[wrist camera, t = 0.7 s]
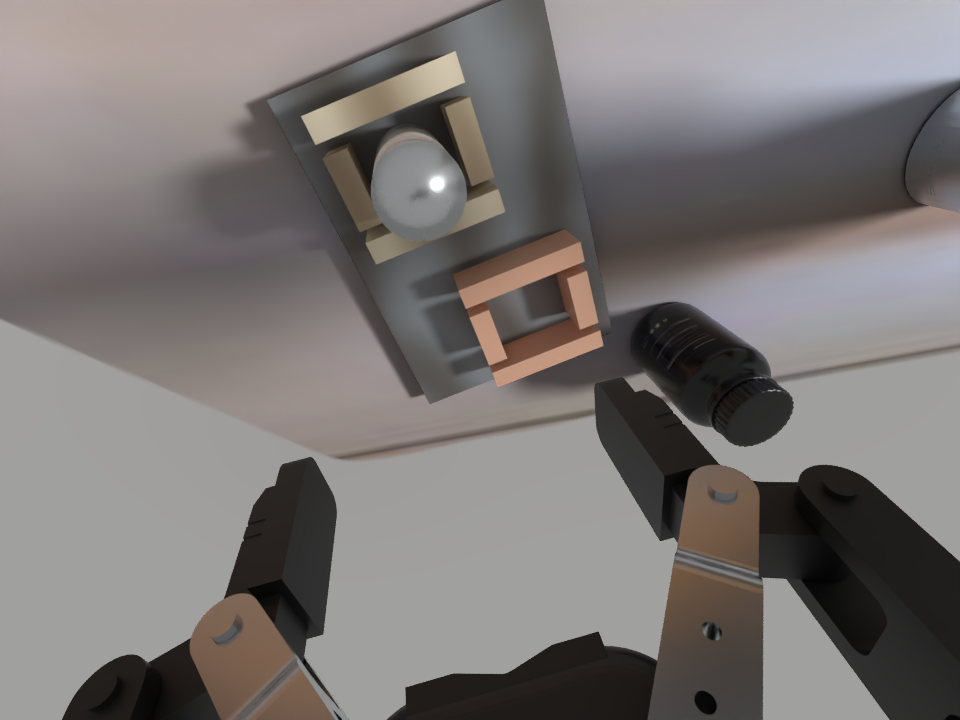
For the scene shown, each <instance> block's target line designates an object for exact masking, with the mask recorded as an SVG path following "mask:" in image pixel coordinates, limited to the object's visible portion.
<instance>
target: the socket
mask: <svg viewBox="0 0 960 720" xmlns="http://www.w3.org/2000/svg"><path fill="white" fill-rule="evenodd" d="M584 261H585V260H584V256H583V251H582V247H581V242H580V241H579V240H577V239H576V238H575V237H574V236H573V235H571V234H570V233H569V232H568V231H566V230H565V229H564V230H561V231H559V232H556V233H554V234H551V235H549V236H547V237H544V238H542V239H539V240H537V241H534V242H532V243H529V244H527V245H524V246H522V247H519V248H517V249H514V250H512V251H509V252H507V253H504V254H502V255H499V256H497V257H495V258H492V259H490V260H487V261H485V262H482V263H480V264H477V265H475V266H472V267H470V268H467V269H465V270H462V271H460V272H457V273H455V274H453V276H454V279H455V282H456V285H457V288H458V291H459V293H460V296H461V298H462V301H463V303H464V306H465V308H466V309H467V312H468V315H469V318H470V320H471V323H472V325H473V327H474V330H475V332H476V335H477V337H478V340H479V342H480V344H481V347H482V349H483V352H484V354H485V357H486V359H487V361H488V364H489V366H490V368H491V371H492V374H493V376H494V379H495V381H496V383H497V386H498V387H500V386H503V385H505V384H508V383H510V382H513V381H515V380H518V379H520V378H523V377H525V376H528V375H531V374H533V373H536V372H538V371H541V370H543V369H546V368H548V367H551V366H553V365H556V364H559V363H561V362H564V361H566V360H569V359H571V358H574V357H576V356H579V355H581V354H584V353H587V352H589V351H592V350H594V349H597V348H599V347H602V346H604V345H603V341H602V336H601V332H600V330H599V329H598V327H597V326H596V325H595V324H596V323H598V318H597V314H596V309H595V305H594V301H593V296H592V292H591V287H590V283H589V278H588V274H587V270H585V269H584V268H583V267H582V266H581V265H580V264H579V263H582V262H584ZM555 273H556V276H557V280H558V284H559V287H560V291H561V295H562V298H563V302H564V306H565V310H566V312H567V314H568V315H569V316H570V319H568V320H565V321H563V322H560V323H558V324H555V325H553V326H550V327H548V328H545V329H543V330H540V331H538V332H535V333H533V334H530V335H528V336H525V337H523V338H520V339H517V340H515V341H512V342H510V343H507V344H505V345H502V343H501V341H500V338H499V335H498V333H497V330H496V327H495V325H494V322H493V319H492V317H491V314H490V312H489V309H488V307H487V305H486V302H485V301H487V300H490V299H492V298H495V297H497V296H500V295H502V294H505V293H507V292H510V291H512V290H515V289H517V288H520V287H522V286H525V285H527V284H530V283H532V282H535V281H537V280H540V279H542V278H545V277H547V276H550V275H552V274H555Z"/></svg>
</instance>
